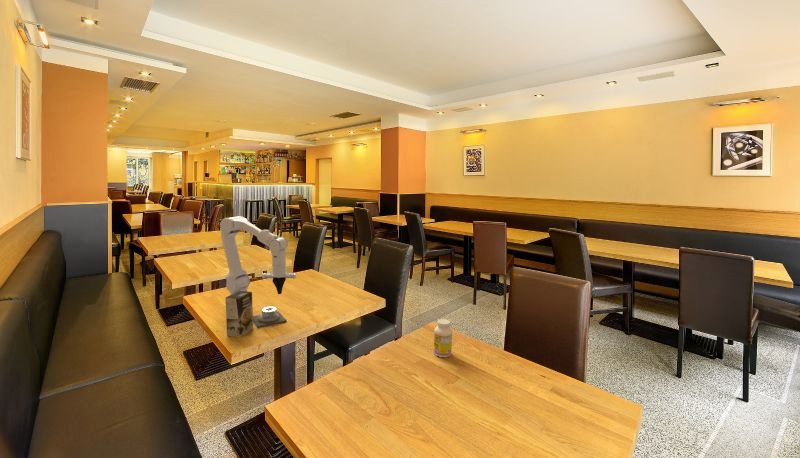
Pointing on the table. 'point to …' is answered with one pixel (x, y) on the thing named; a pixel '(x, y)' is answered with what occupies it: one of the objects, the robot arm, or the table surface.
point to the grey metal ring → (269, 312)
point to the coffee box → (239, 313)
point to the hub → (268, 320)
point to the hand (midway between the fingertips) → (279, 293)
